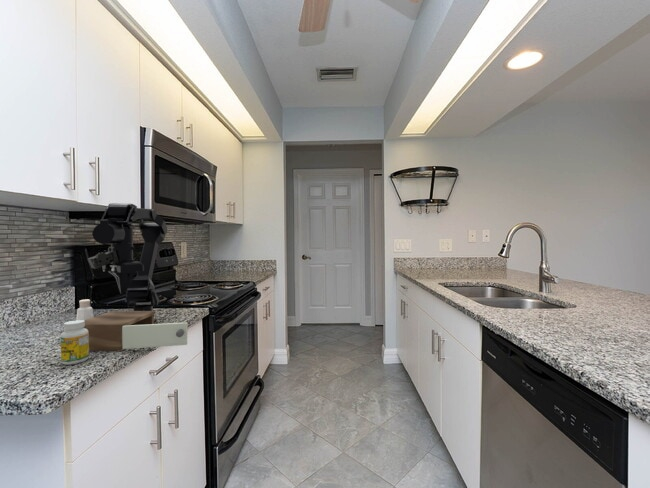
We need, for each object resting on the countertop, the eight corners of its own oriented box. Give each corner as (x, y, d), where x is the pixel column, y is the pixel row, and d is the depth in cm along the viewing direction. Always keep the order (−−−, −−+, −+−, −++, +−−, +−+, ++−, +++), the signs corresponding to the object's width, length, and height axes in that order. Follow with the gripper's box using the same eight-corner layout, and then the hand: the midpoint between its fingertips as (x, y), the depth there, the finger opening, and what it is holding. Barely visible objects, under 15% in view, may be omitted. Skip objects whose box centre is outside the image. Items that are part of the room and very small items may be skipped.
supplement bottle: (94, 357, 78) (93, 319, 78) (74, 365, 73) (73, 325, 73) (76, 356, 79) (75, 318, 79) (54, 364, 74) (54, 324, 74)
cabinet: (111, 332, 99) (111, 311, 99) (155, 332, 99) (155, 310, 99) (70, 350, 83) (70, 324, 83) (122, 350, 83) (122, 324, 83)
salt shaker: (82, 338, 94) (82, 302, 94) (69, 336, 95) (69, 301, 95) (100, 333, 99) (99, 298, 99) (87, 331, 101) (86, 298, 100)
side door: (187, 343, 86) (187, 322, 86) (185, 346, 84) (185, 324, 84) (123, 347, 83) (123, 325, 83) (120, 350, 81) (120, 327, 81)
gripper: (82, 243, 97) (83, 293, 97) (99, 243, 85) (100, 300, 85) (123, 243, 105) (123, 289, 105) (144, 243, 93) (145, 295, 93)
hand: (122, 293), depth 97 cm, fingers closed
